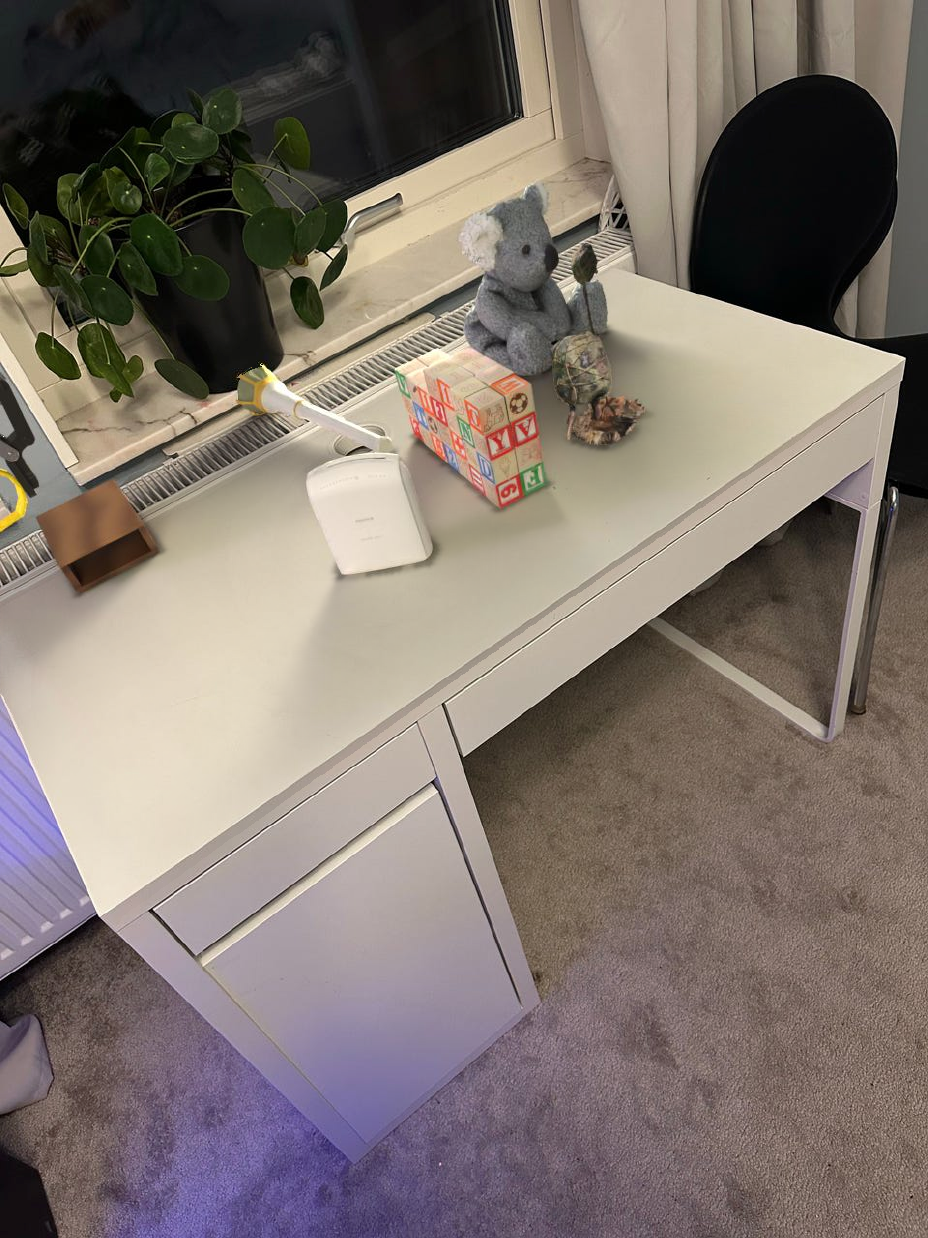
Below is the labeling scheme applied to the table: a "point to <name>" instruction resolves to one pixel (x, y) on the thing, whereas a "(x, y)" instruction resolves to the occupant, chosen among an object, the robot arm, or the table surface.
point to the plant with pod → (590, 374)
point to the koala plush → (522, 286)
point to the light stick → (299, 408)
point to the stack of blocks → (476, 420)
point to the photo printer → (369, 512)
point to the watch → (20, 504)
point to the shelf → (110, 560)
